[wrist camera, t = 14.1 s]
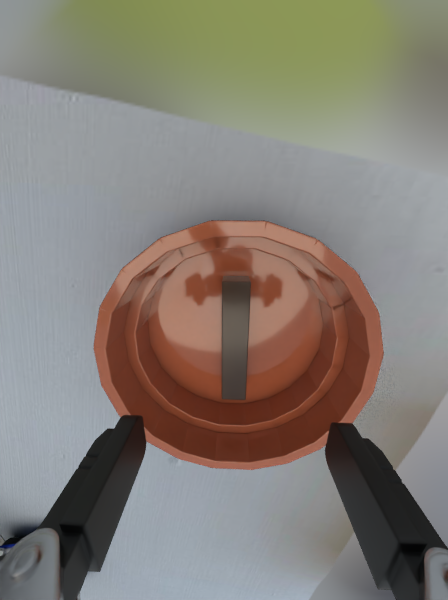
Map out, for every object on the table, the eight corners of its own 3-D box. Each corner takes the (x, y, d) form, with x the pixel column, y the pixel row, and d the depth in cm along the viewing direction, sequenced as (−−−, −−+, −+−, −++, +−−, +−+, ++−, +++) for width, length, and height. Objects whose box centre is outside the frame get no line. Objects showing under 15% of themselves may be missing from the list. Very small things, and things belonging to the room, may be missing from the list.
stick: (222, 383, 20) (221, 399, 18) (222, 275, 17) (221, 281, 15) (244, 383, 20) (245, 400, 18) (249, 275, 17) (251, 282, 15)
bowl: (119, 222, 16) (65, 219, 11) (358, 223, 16) (420, 221, 10) (144, 407, 22) (117, 464, 17) (321, 414, 21) (351, 474, 16)
